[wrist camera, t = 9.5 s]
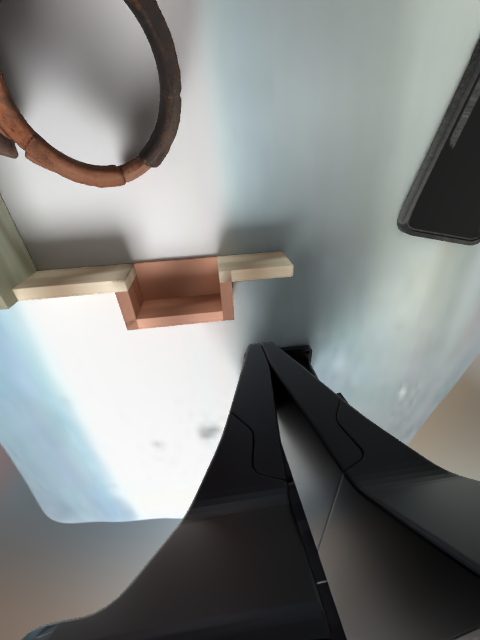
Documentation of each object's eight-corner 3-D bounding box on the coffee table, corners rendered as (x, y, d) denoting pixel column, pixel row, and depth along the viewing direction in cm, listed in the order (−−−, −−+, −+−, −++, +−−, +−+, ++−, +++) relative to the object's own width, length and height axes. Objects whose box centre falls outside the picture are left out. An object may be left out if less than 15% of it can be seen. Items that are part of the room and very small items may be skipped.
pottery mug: (40, -158, 10) (88, -268, 6) (169, 108, 18) (230, 143, 14) (-210, 23, 10) (-349, 44, 6) (32, 213, 18) (50, 282, 14)
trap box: (304, -229, 10) (356, -421, 7) (279, 295, 22) (293, 320, 19) (-253, -270, 8) (-548, -544, 5) (48, 317, 21) (19, 349, 17)
